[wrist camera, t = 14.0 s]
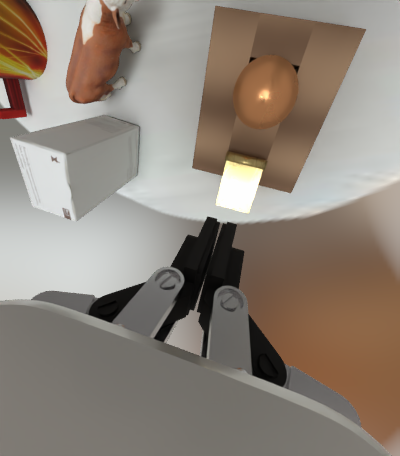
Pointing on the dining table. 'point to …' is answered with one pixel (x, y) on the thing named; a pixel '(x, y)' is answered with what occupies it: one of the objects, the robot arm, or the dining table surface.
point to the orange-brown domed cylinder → (265, 92)
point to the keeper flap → (240, 181)
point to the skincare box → (77, 164)
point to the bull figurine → (99, 50)
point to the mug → (19, 52)
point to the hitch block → (305, 103)
